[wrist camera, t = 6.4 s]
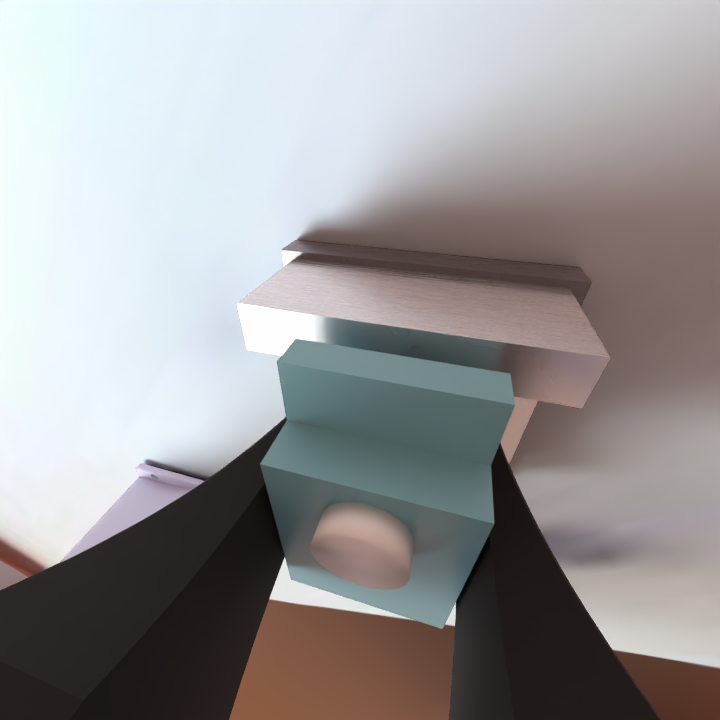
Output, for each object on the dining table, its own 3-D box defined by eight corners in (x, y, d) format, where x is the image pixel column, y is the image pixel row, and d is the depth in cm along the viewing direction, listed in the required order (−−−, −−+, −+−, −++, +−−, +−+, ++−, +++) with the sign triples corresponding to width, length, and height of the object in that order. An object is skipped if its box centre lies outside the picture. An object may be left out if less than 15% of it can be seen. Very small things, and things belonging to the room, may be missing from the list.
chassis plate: (315, 435, 16) (276, 514, 12) (295, 239, 10) (218, 293, 7) (493, 475, 14) (500, 578, 11) (580, 267, 9) (643, 352, 5)
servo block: (346, 463, 14) (287, 624, 9) (343, 279, 9) (219, 431, 5) (444, 486, 13) (431, 676, 8) (498, 298, 8) (530, 506, 4)
